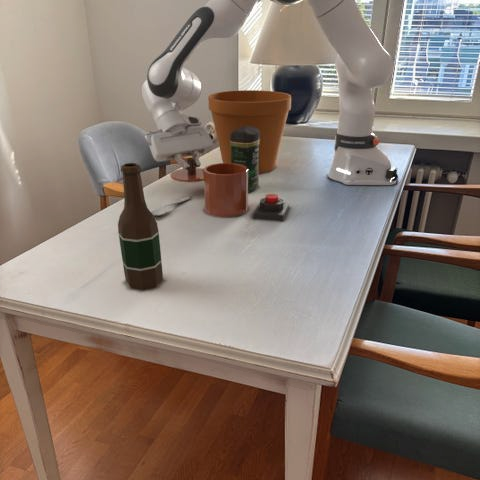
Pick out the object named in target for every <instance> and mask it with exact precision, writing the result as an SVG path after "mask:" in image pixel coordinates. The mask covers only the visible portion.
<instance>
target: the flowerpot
mask: <svg viewBox="0 0 480 480" xmlns="http://www.w3.org/2000/svg"><path fill="white" fill-rule="evenodd" d="M207 98H208V99H207V101H208V111H210V112H211V116H212V121H213V125H214V130H215V133H216V138H217V143H218V147H219V151H220V155H221V156H220V157H221V160H222V163H231V144H230V135H231V132H232V131H234V130H236V129H239V128H242V127H244V126H252V127H257V129H258V130H259V131H260V142H259V151H258V173H259V174H261V173H262V174H264V173H268V172H271V171H273V170H274V169H275V167H276V163H277V159H278V155H279V151H280V146H281V144H282V139H283V135H284V131H285V127H286V122H287V119H288V115H289V111H291V110H292V94H289V93H286V92H283V91H282V92H281V91H272V90H258V89H257V90H255V89H254V90H253V89H247V90H227V91H219V92H213V93H211V94H209V95H208V97H207Z"/></svg>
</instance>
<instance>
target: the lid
mask: <svg viewBox="0 0 480 480" xmlns="http://www.w3.org/2000/svg"><path fill="white" fill-rule="evenodd" d="M187 161H188V163H189V165H190V167H189V169H187V170H184V169H183V168H182V169H181V168H180V169H176V170H174V171H172V172H170V175H169V176H170V178H171V179H172V180H174V181H177V182H181V183H182V182H183V183H199V182H204V174H203V169H204V168H200V167H197V168H196V161H195V158H193V157H188V158H187V157H186V162H187Z"/></svg>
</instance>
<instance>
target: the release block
mask: <svg viewBox="0 0 480 480" xmlns="http://www.w3.org/2000/svg"><path fill="white" fill-rule="evenodd" d="M265 200H266V197H263V198H261V199H260V200H259V203H258V205H257V207H256V208H255V210H254V212H253V220H262V221H263V220H264V221H277V222H283V221H284V220H285V217H286V214H287V212H288V210H289V207H290V205H289V204H290V202H289V201H285V200H284V199H283V198H280V197H279V202H278V203H274V204H271V203H266V202H265Z"/></svg>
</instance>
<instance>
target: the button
mask: <svg viewBox="0 0 480 480" xmlns="http://www.w3.org/2000/svg"><path fill="white" fill-rule="evenodd" d="M265 198H266V200H265V202H266V203H271V204H274V203H278V202H279V198H280V196H279V194H275V193H268V194H265Z"/></svg>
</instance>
